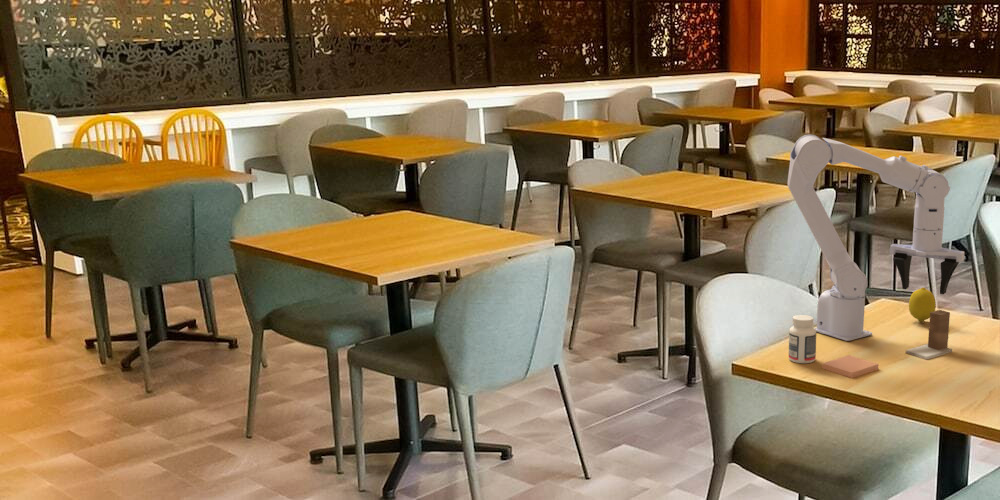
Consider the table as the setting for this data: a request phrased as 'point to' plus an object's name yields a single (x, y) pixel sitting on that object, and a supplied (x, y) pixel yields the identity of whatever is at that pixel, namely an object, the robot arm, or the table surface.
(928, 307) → the lemon
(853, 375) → the tile
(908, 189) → the robot arm
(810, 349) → the pill bottle
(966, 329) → the table surface
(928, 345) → the brown grey l-shaped block
